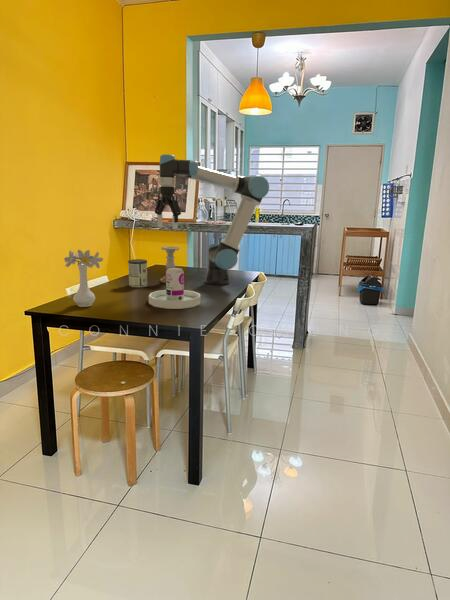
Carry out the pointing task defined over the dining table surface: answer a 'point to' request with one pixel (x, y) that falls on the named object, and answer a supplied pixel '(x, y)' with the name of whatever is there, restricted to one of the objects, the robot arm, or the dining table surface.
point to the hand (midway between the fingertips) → (167, 228)
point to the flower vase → (83, 275)
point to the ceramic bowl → (160, 301)
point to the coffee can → (137, 272)
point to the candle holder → (169, 259)
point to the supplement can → (174, 284)
